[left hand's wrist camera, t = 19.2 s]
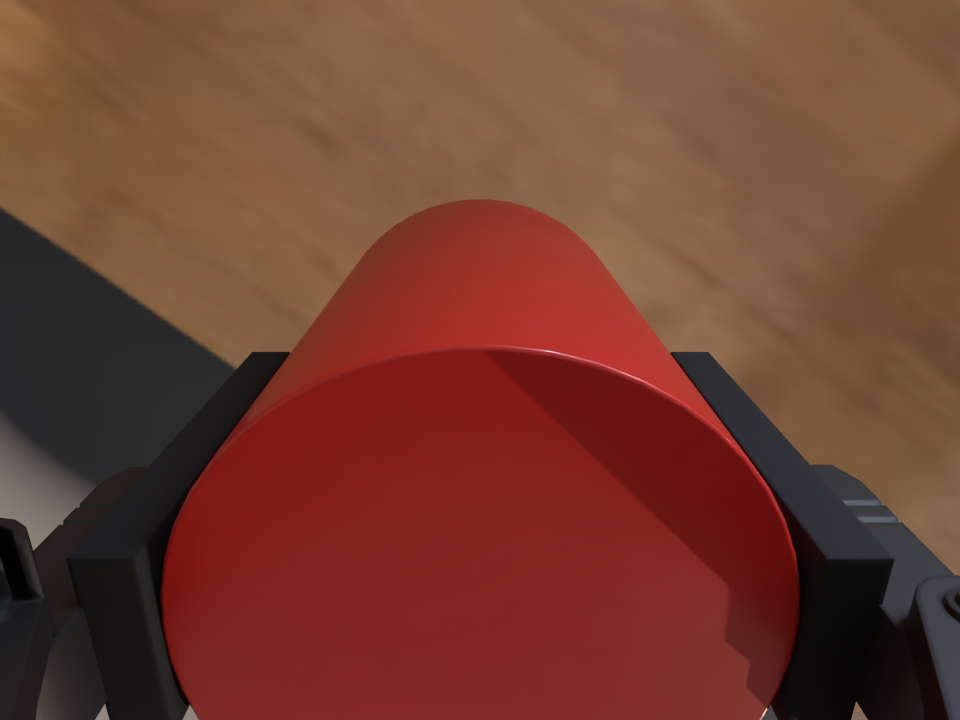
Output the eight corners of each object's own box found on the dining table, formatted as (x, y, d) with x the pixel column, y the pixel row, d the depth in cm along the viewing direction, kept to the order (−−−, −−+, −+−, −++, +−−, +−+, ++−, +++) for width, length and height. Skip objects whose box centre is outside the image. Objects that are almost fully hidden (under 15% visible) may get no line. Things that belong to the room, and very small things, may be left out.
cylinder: (355, 171, 16) (166, 281, 6) (659, 231, 17) (910, 417, 7) (321, 445, 19) (152, 815, 9) (583, 489, 20) (689, 884, 10)
